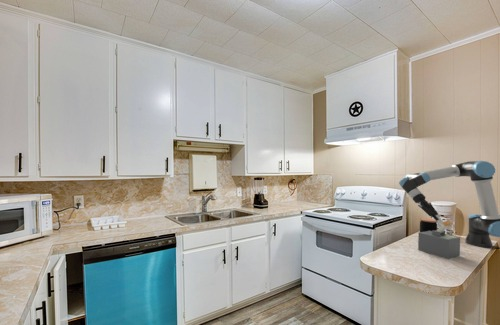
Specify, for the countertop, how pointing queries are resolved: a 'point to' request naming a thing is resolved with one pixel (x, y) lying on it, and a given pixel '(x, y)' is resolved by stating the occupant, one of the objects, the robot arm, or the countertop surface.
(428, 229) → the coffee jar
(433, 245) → the box
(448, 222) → the lever
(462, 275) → the countertop surface
